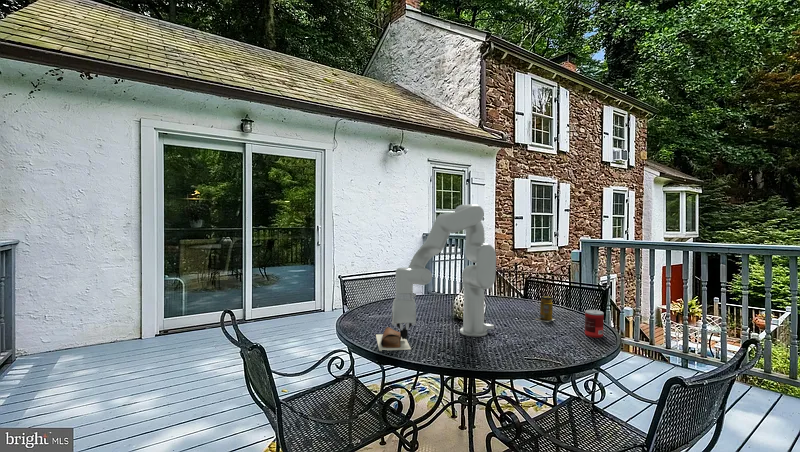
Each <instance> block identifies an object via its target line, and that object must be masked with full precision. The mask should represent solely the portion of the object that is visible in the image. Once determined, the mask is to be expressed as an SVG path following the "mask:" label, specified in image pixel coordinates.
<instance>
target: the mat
mask: <svg viewBox="0 0 800 452" xmlns="http://www.w3.org/2000/svg"><path fill="white" fill-rule="evenodd" d="M375 336H376V337H375V338H376V342H377V347H378V350H379V352H383V351H382V350H387V351H404V350H405V351H406V350H407V351H409V350H412V348H411V346H410V343H409V342H408V340H407V338H406V339H402V337H401V341H400V345H401V347H399V348H384V347H382V345H381V341H382V337H383V334H375Z"/></svg>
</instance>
